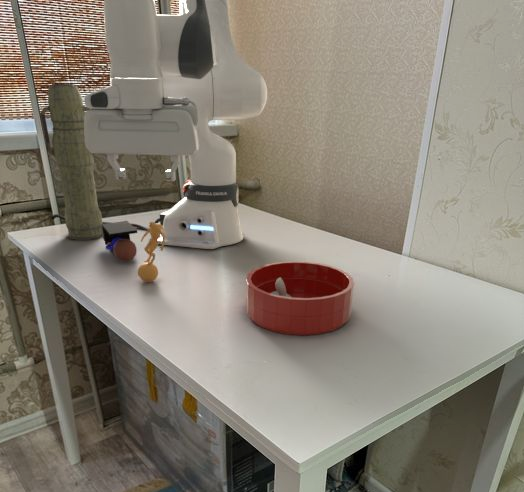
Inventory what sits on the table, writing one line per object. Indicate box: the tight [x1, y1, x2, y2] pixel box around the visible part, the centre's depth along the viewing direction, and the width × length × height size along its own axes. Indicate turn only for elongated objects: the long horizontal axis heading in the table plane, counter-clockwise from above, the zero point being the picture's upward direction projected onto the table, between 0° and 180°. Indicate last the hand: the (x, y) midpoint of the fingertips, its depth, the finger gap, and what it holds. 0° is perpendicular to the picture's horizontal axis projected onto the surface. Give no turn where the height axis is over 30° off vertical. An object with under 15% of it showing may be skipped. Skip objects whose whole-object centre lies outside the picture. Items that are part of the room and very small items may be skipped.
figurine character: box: [101, 220, 138, 262], centre depth 118 cm, size 7×8×15 cm
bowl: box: [245, 260, 355, 336], centre depth 90 cm, size 19×19×6 cm
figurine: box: [137, 221, 165, 283], centre depth 102 cm, size 8×6×12 cm
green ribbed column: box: [39, 83, 103, 241], centre depth 124 cm, size 9×12×35 cm
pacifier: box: [271, 278, 291, 297], centre depth 89 cm, size 7×6×6 cm
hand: (146, 180), depth 94 cm, fingers open, 8 cm apart
